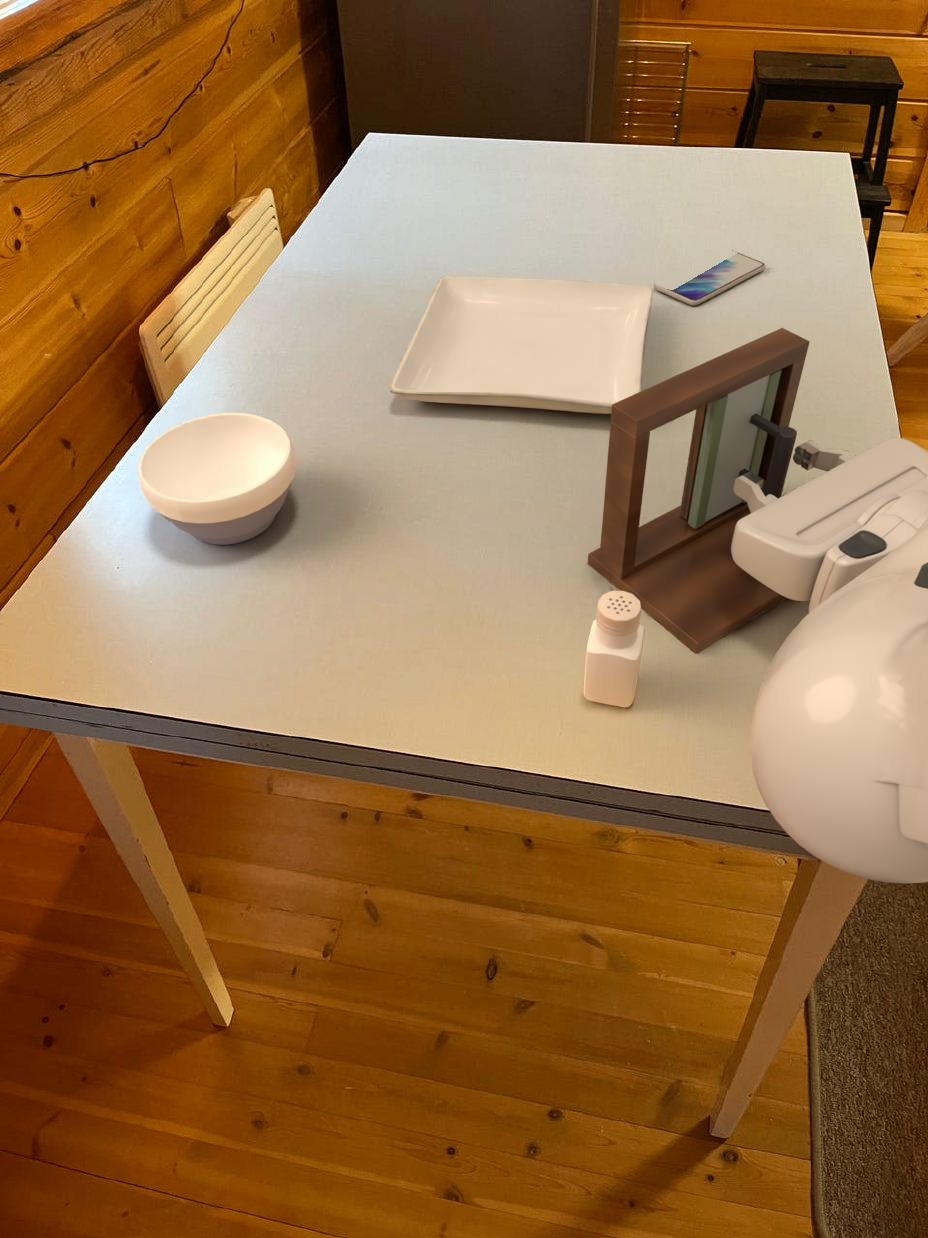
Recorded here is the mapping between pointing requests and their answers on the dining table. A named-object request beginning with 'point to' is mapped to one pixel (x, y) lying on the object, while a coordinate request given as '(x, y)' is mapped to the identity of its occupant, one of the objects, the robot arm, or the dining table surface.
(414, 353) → the square plate
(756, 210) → the dining table surface
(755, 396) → the window sash
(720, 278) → the smartphone
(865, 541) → the robot arm
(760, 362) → the window frame
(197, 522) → the bowl
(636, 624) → the salt shaker
